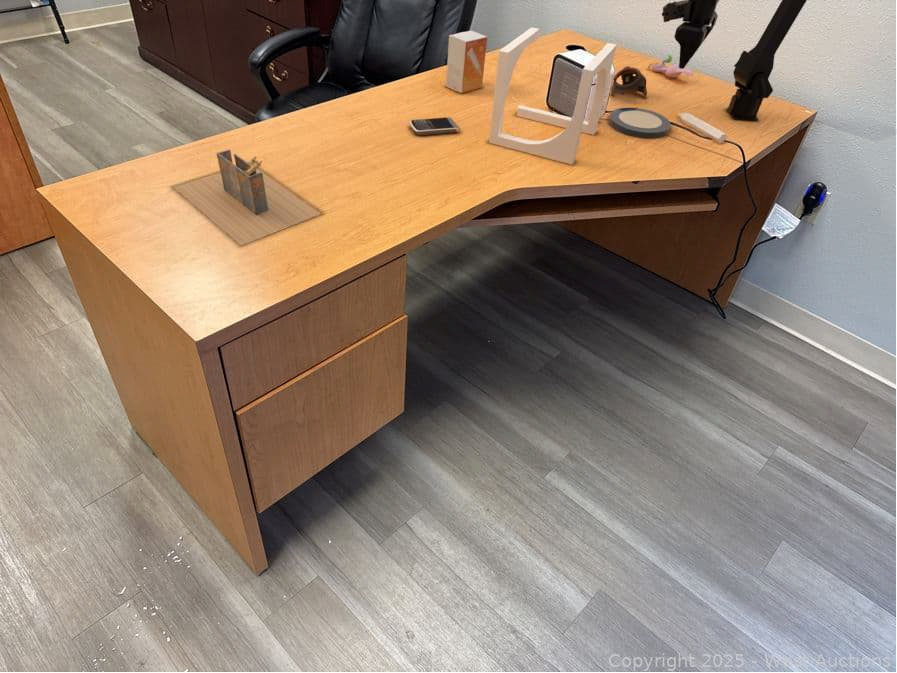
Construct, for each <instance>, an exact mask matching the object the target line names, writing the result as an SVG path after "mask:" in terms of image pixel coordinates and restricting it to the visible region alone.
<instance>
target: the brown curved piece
mask: <svg viewBox="0 0 897 673" xmlns="http://www.w3.org/2000/svg"><path fill="white" fill-rule="evenodd" d="M619 78H621V81H622V84H621V83H619V82H617V81H618V79H619ZM638 93H640V94H641V93H642V95H643V98H644V99H647V94H648V89H647V78H646V76H645V75H644V74H643V73H642V72H641V70H640V69H639V68H637V67H631V66H628V65H627V66H625V67H623V69H621V70H619V71H618V72H616V74H614V76H613V81H612V85H611V87H610V95H611V96H614V95H619V96H624V95H629V94H636V95H637V94H638Z"/></svg>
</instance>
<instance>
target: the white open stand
mask: <svg viewBox="0 0 897 673" xmlns="http://www.w3.org/2000/svg"><path fill="white" fill-rule="evenodd" d="M540 32H541V29H540V28H537V27H530V28H529V29H527V30H525V31H524V32H523V33H522V34H521V35H519V36H517V37H515V39H513V40H512V41H511V42H509V43H508V44H506V45H505V46H504V47H502V48H501V49H499V51H498V57H497V58H498V60H497V66H496V77H495V83H494V84H495V86H494V93H493V102H492V110H491V121H490V130H489V137H488V143H489V144H492V145H497V146H500V147H504V148H507V149H511V150H516V151H518V152H522V153H526V154H530V155H534V156H538V157H541V158H545V159H549V160H553V161H557V162H561V163H564V164H567V165H572V166H573V165H574V163H575V162H576V159H577V153H578V150H579V149H578V148H579V144H580V141H581V140H580V139H581V136H582V133H584V134H588V135H593V136H594V135H595V134H596V133H597V129H598V127H599V126H598V125H599V122H600V118H601V114H602V108H603V105H604V100H605V97H606V92H607V88H608V84H609V78H610V76H611V71H612V67H613V63H614V58H615V54H616V50H617V46H618V44H616V43H612V42H607V43H606V44H605V45H604V47H602V48H601V49H600V51H598V53H597V54H596V55H595V56H594V57H593V58H591V60H590V61H589V62H588V63H587V64H586V65H585V66H584V67H583V69H582V71H581V77H580V82H579V86H578V91H577V96H576V101H575V105H574V106H575V107H574V110H573V114H572V116H571V117H570V116H567V115H562V114H558V113H554V112H550V111H546V110H542V109H538V108H534V107H529V106H526V105H521V104H520V105H518V107H517V110H516V117H520V118H524V119H528V120H531V121H536V122H539V123H544V124H548V125H552V126H556V127H559V128H563V130H562V131H561V132H560V133H558V134H557V135H554V136H552V137H551V138H550V137H549V138H547V139H543V140H530V139H526V138H521V137H517V136H513V135H510V134H506V133H503V132H502V131H503V130H502V129H503V124H504V114H505V106H506V100H507V95H508V90H509V86H510V83H511V79H512V76H513V73H514V71H515V68H516V65H517V63H518V61H519V59H520V57H521V56H522V54H523V53H524V51H525V50H526V49H527V48H528V47H529V46H530V45H532V44H533V43H534V42H536V41H537V40H538V39H539V37H540ZM595 77H596V83H595V90H594V95H593V100H592V104H591V109H590V112H589V117H588V121H587V120H585V117H586V112H587V109H588V103H589V99H590V95H591V90H592V85H593V81H594V78H595Z"/></svg>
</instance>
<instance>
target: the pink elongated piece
mask: <svg viewBox="0 0 897 673" xmlns="http://www.w3.org/2000/svg"><path fill="white" fill-rule="evenodd" d="M672 60H673V56H672V55H671V54H668V55H667V58H664V60H662V61H660V62H655V63H653V62H652V63H649V64H648V66H647V69H650V68H651V70H652V72H653V73H662V74H665V76H666V77H668V78H671V79H673V78H678V77H679V76H680V75H681V74H684V75H685V76H687V77H691V76H692V77H693V76H694V72H693V70H692V69H690V68H687V67H684V69H681V68H679V63H673V64H670V65H669V66H668V67H667V66H666V64H669V63H671V62H672Z"/></svg>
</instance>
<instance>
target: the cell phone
mask: <svg viewBox="0 0 897 673" xmlns="http://www.w3.org/2000/svg"><path fill="white" fill-rule="evenodd" d="M409 126H410V128H411V130H412V131H413V133H414V134H415V135H416V136H429V135H441V134H442V135H443V134H452V133H453V134H455V133H459V131H460V128H459V126H458V125H457V123H456V122H455V120H453V118H452V117H450V116H448V117H433V118H420V119H411V120H410V121H409Z"/></svg>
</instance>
